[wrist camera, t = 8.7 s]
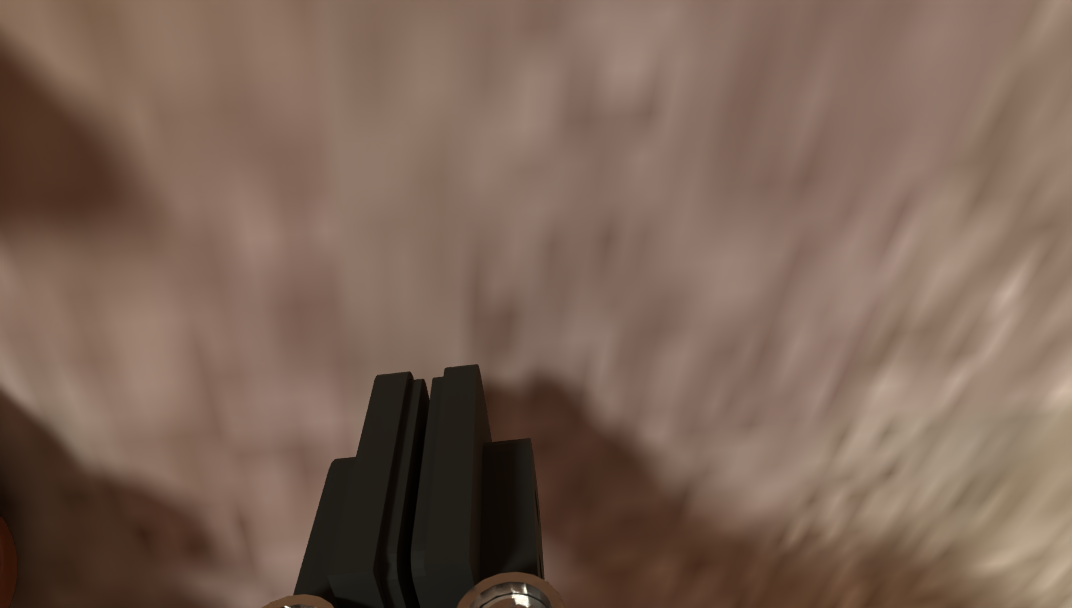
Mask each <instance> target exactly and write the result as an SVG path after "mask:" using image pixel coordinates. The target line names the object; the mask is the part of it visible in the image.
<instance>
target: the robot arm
mask: <svg viewBox="0 0 1072 608" xmlns="http://www.w3.org/2000/svg"><path fill="white" fill-rule="evenodd" d="M262 608H565V605H564V603H563V601H562V599H561V597H560V595H559V593H558V592H557V591H556V590H555V589H554V588H553V587H552V586H551V585H550V584H549V583H548V582H547V581H545V580H544V566H543V552H542V537H541V523H540V511H539V500H538V490H537V481H536V473H535V465H534V458H533V450H532V444H531V439H530V438H527V439H518V440H509V441H499V442H492V439H491V433H490V427H489V421H488V415H487V410H486V404H485V398H484V392H483V386H482V380H481V374H480V369H479V366H478V364H475V365H466V366H457V367H447V368H445V370H444V377H436V378H433V380H432V387H431V395H430V400H429V395H428V391H427V386H426V383H425V380H424V379H417V380H414V378H413V375H412V373H411V372H401V373H392V374H383V375H377V376H376V378H375V381H374V385H373V389H372V393H371V397H370V401H369V405H368V409H367V413H366V418H365V422H364V426H363V430H362V434H361V438H360V442H359V446H358V451H357V455H356V457H350V458H341V459H335V460H334V461H333V462H332V463H331V466H330V468H329V471H328V474H327V478H326V481H325V485H324V488H323V492H322V495H321V499H320V502H319V506H318V510H317V513H316V517H315V520H314V524H313V527H312V531H311V534H310V538H309V541H308V545H307V548H306V552H305V555H304V559H303V562H302V566H301V569H300V573H299V576H298V580H297V584H296V587H295V591H294V594H293V596H287V597H284V598H281V599H278V600H276V601H273V602H270V603H269V604H267V605H266V606H264V607H262Z"/></svg>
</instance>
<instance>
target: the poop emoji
mask: <svg viewBox="0 0 1072 608" xmlns="http://www.w3.org/2000/svg"><path fill="white" fill-rule="evenodd" d="M16 580H17V554H16V549H15V545H14V541H13V538H12V536H11V533H10V531H9V529H8V527H7V525H6V523H5V522H4V520H3V518H2V517H1V515H0V608H9V606H10V603H11V600H12V597H13V594H14V590H15V586H16Z"/></svg>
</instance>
